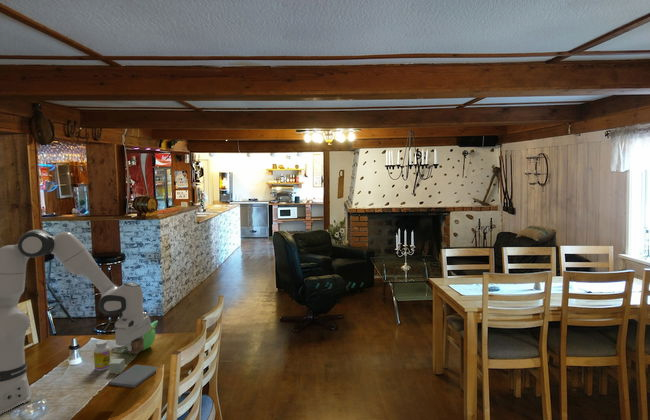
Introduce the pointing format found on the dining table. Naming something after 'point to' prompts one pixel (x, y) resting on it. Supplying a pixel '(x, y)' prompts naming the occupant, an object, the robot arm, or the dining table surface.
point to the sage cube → (117, 366)
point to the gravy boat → (149, 336)
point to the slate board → (133, 376)
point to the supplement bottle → (101, 356)
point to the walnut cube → (136, 345)
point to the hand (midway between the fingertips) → (135, 347)
